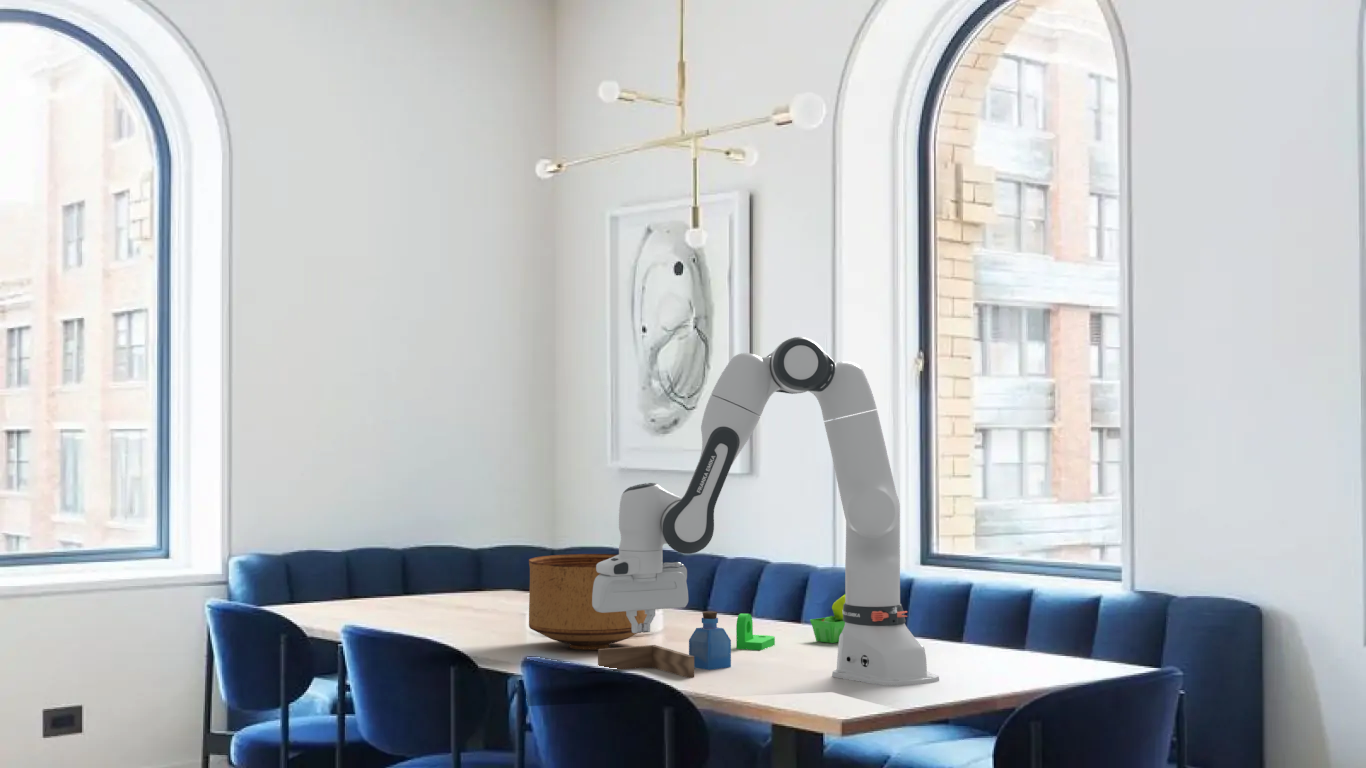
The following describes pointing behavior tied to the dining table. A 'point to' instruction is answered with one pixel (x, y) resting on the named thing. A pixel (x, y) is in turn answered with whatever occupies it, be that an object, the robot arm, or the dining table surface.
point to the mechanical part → (750, 635)
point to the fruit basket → (830, 624)
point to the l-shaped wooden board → (647, 659)
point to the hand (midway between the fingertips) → (640, 632)
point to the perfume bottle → (710, 644)
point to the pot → (573, 603)
